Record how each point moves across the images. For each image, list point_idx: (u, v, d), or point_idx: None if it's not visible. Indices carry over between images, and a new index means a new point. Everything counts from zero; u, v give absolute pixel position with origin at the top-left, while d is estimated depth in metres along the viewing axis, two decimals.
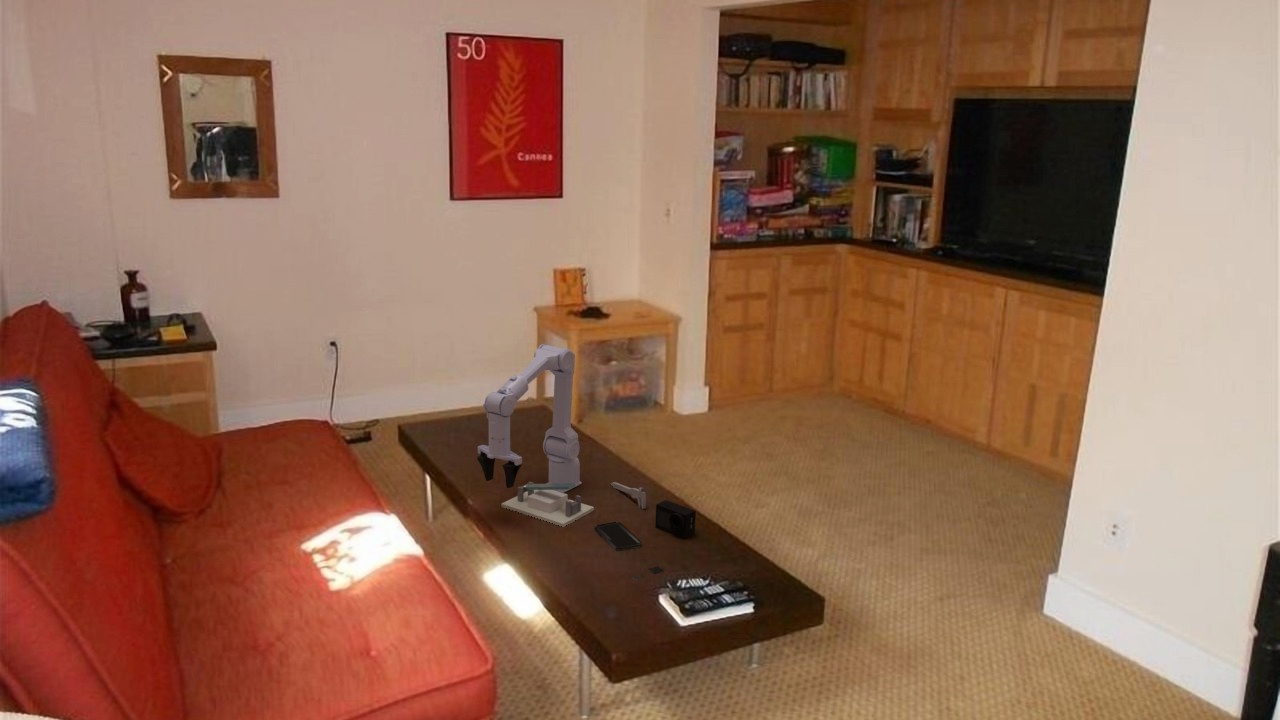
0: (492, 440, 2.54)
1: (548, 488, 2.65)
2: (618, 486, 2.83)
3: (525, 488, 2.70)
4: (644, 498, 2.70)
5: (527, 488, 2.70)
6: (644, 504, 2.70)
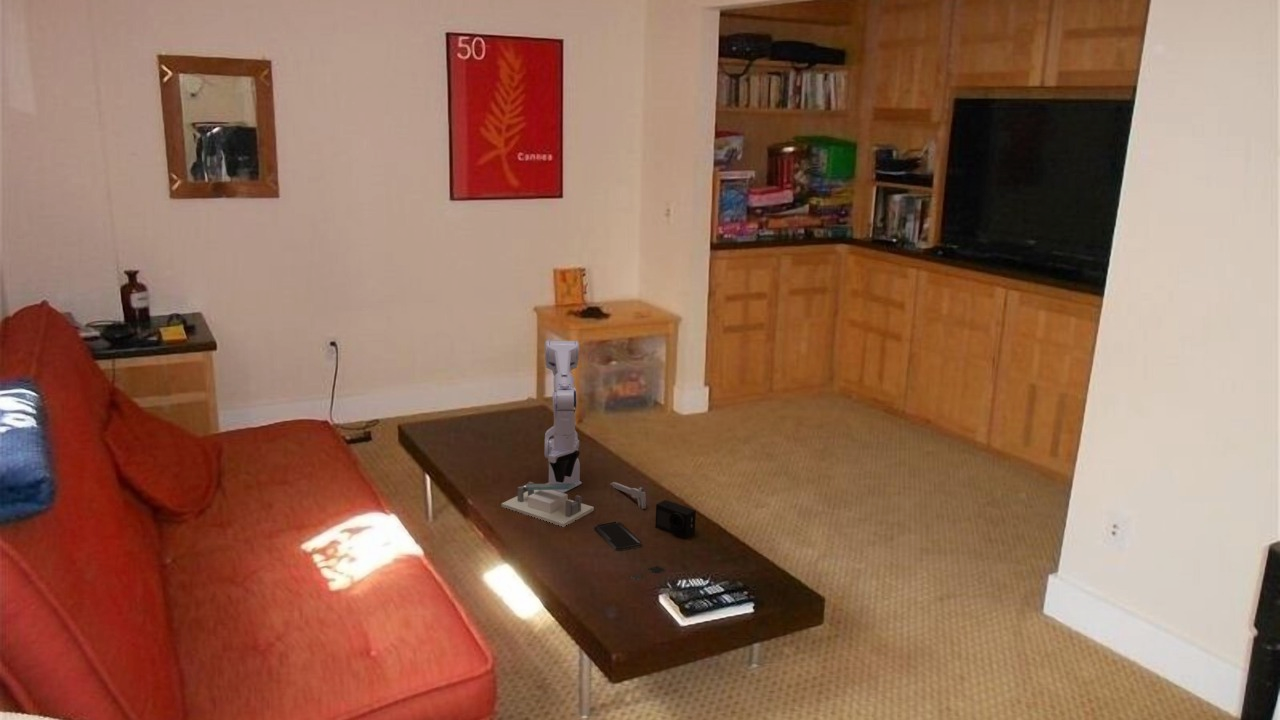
0: None
1: (548, 488, 2.65)
2: (618, 486, 2.83)
3: (525, 488, 2.70)
4: (644, 498, 2.70)
5: (527, 488, 2.70)
6: (644, 504, 2.70)
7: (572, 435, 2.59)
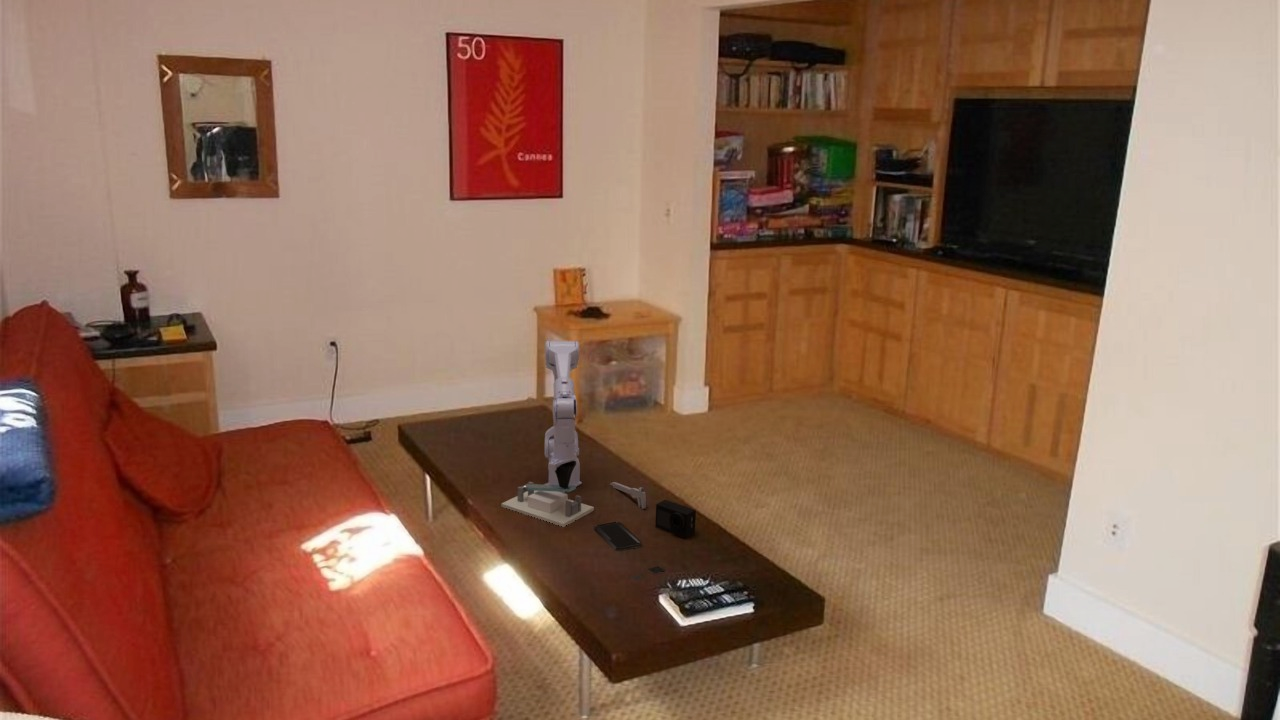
0: None
1: (548, 489, 2.65)
2: (618, 486, 2.83)
3: (525, 488, 2.70)
4: (644, 498, 2.70)
5: (527, 488, 2.70)
6: (644, 504, 2.70)
7: (572, 443, 2.59)
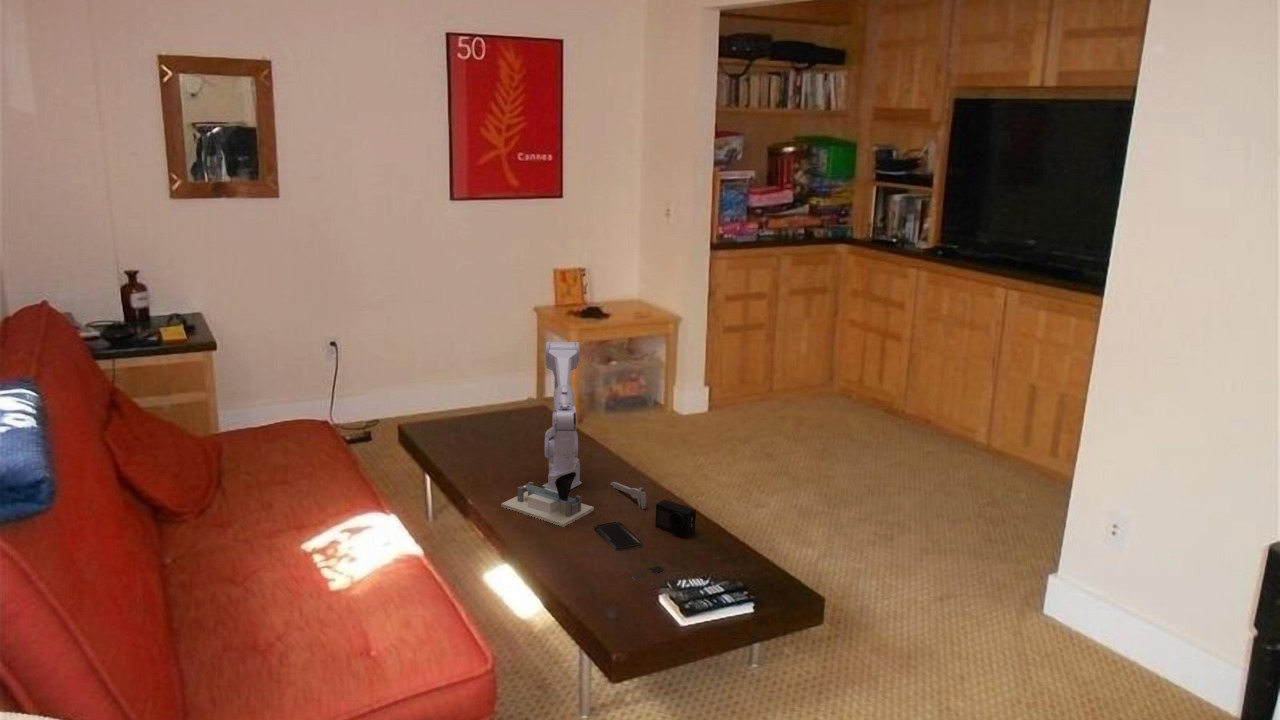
0: None
1: (549, 497, 2.66)
2: (618, 486, 2.83)
3: (525, 489, 2.70)
4: (644, 498, 2.70)
5: (527, 490, 2.70)
6: (644, 504, 2.70)
7: (572, 455, 2.60)
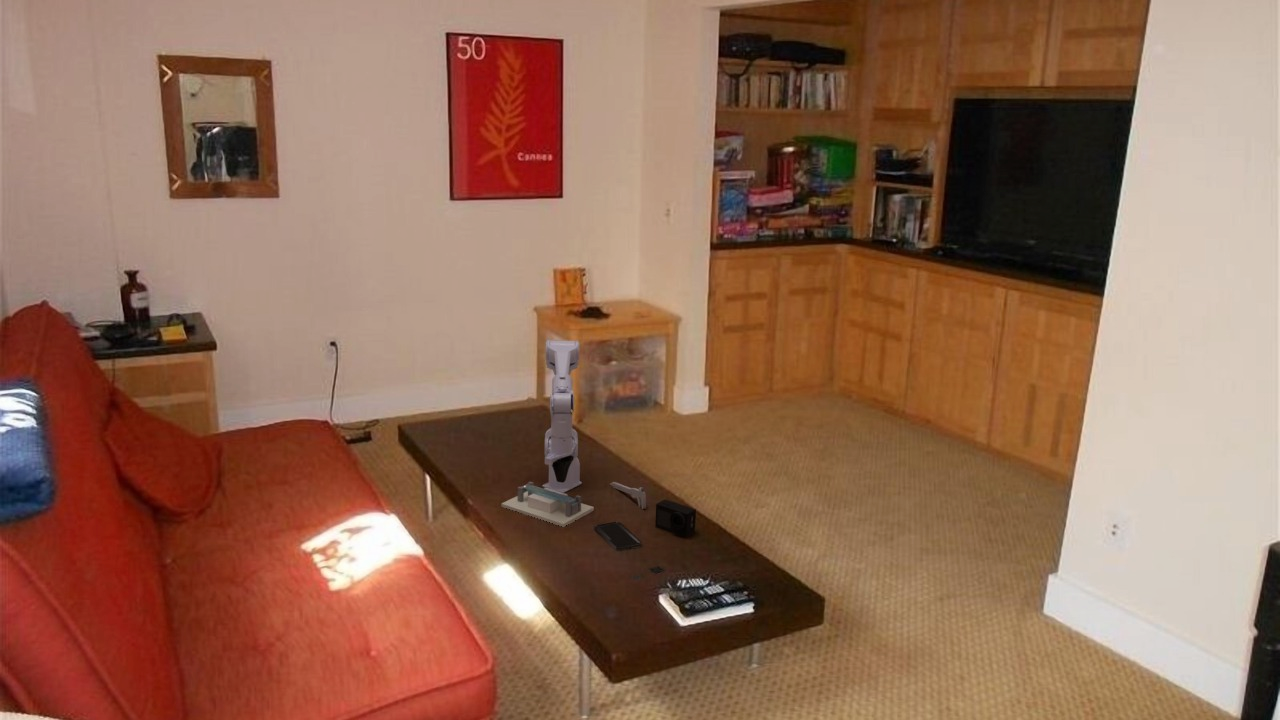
0: None
1: (549, 497, 2.66)
2: (618, 486, 2.83)
3: (525, 489, 2.70)
4: (644, 498, 2.70)
5: (527, 490, 2.70)
6: (644, 504, 2.70)
7: (569, 438, 2.59)
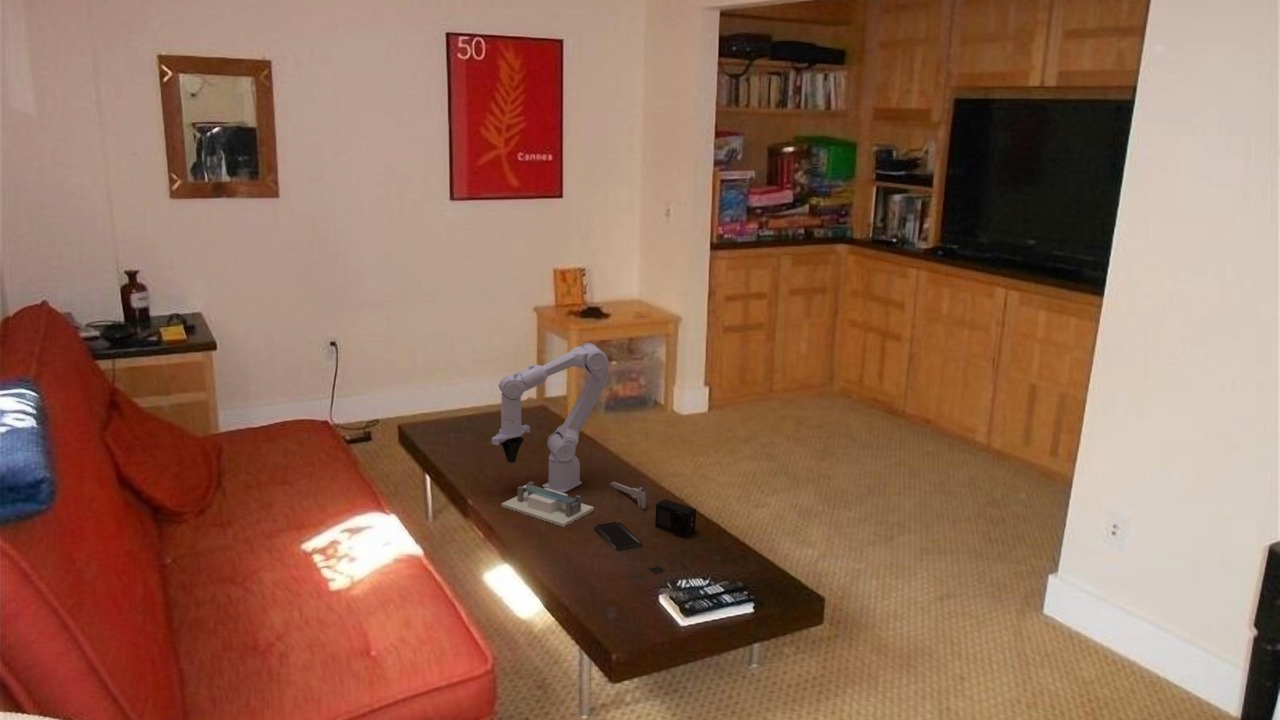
0: None
1: (549, 497, 2.66)
2: (618, 486, 2.83)
3: (525, 489, 2.70)
4: (644, 498, 2.70)
5: (527, 490, 2.70)
6: (644, 504, 2.71)
7: (517, 420, 2.72)
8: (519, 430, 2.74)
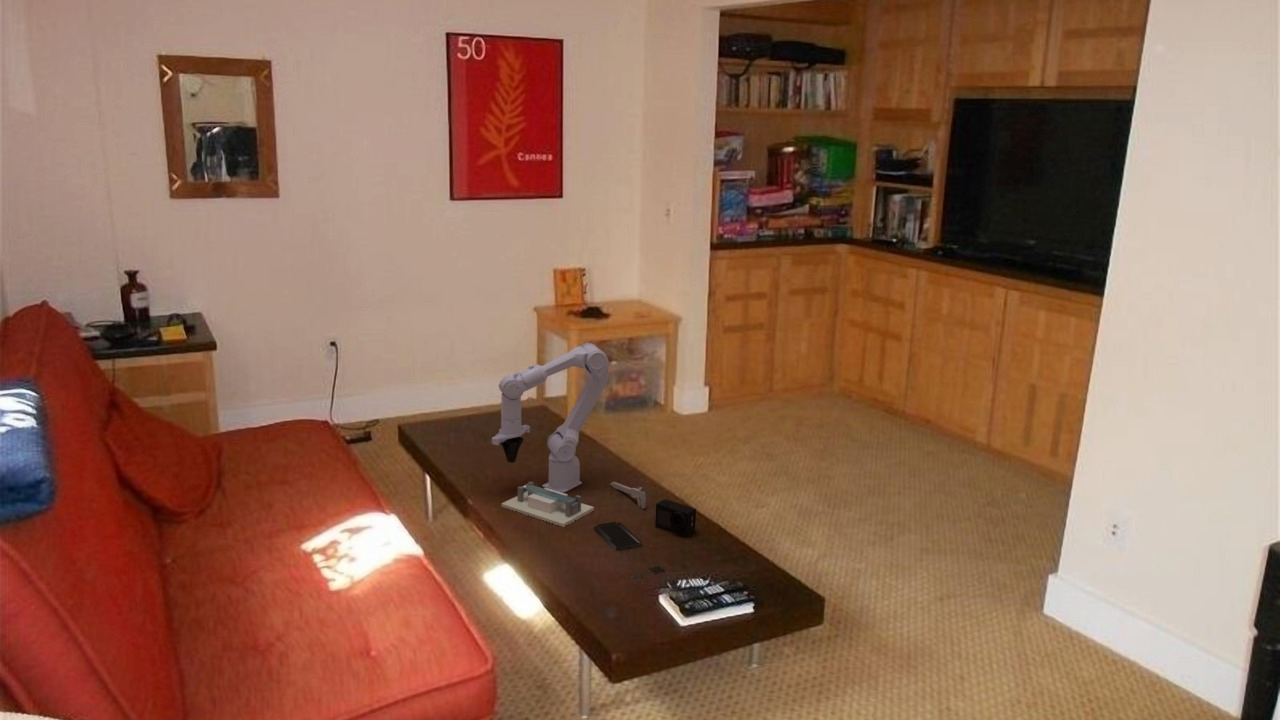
0: None
1: (549, 497, 2.66)
2: (618, 486, 2.83)
3: (525, 489, 2.70)
4: (644, 498, 2.70)
5: (527, 490, 2.70)
6: (644, 504, 2.71)
7: (517, 420, 2.72)
8: (519, 430, 2.74)
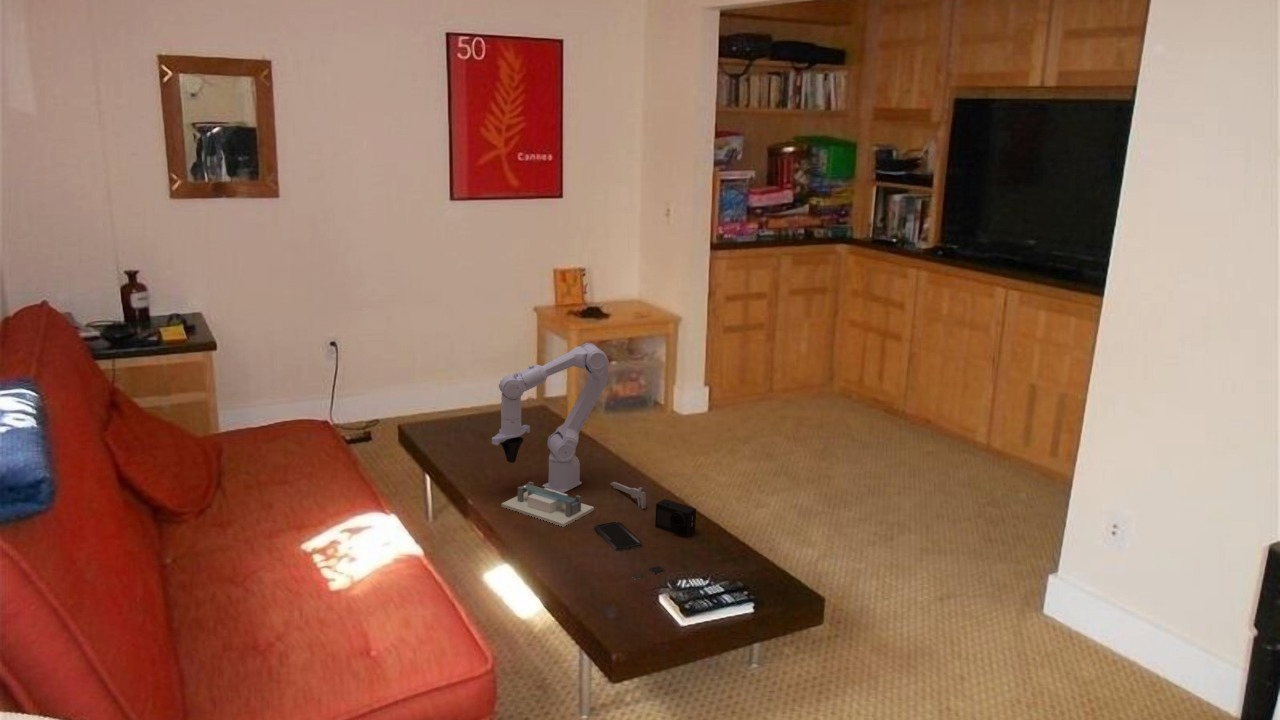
0: None
1: (549, 497, 2.66)
2: (618, 486, 2.83)
3: (525, 489, 2.70)
4: (644, 498, 2.70)
5: (527, 490, 2.70)
6: (644, 504, 2.71)
7: (517, 420, 2.72)
8: (519, 430, 2.74)
